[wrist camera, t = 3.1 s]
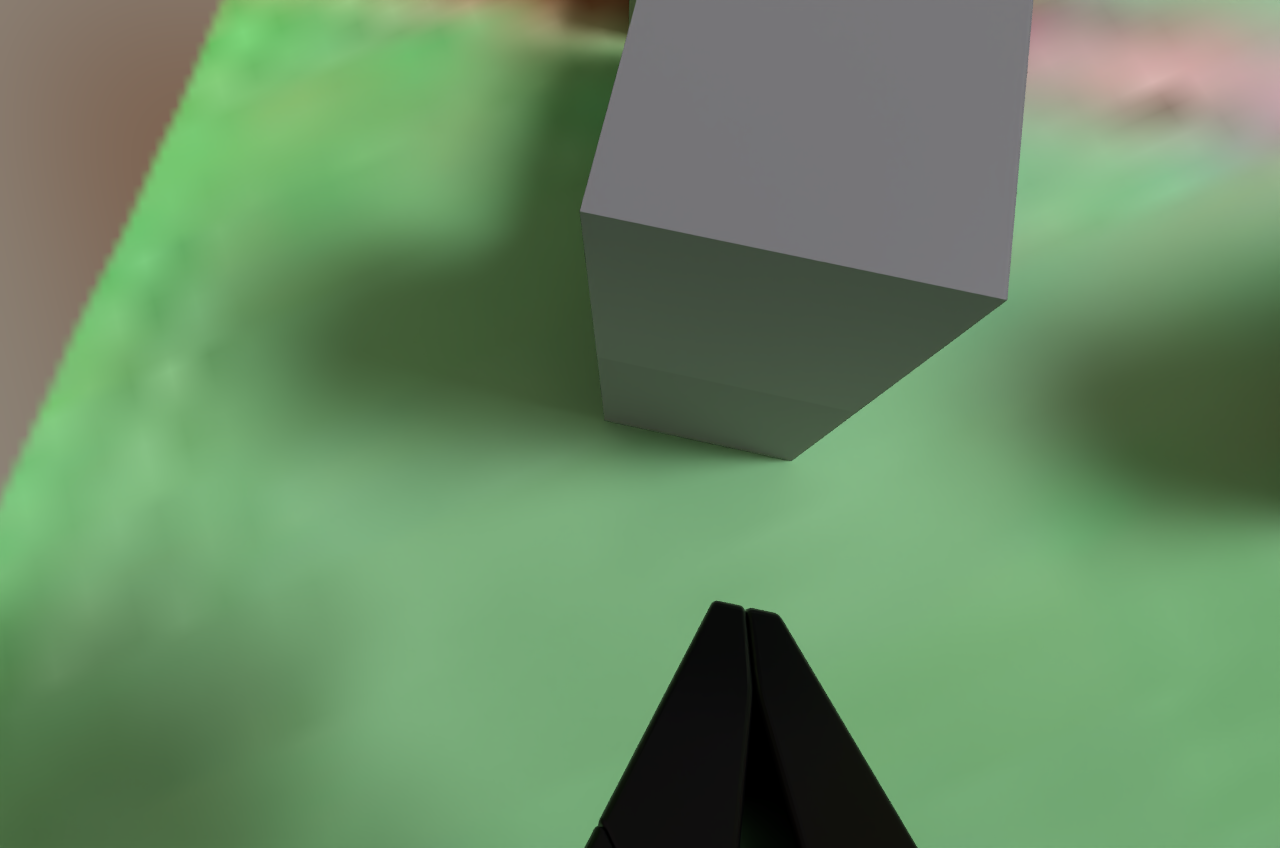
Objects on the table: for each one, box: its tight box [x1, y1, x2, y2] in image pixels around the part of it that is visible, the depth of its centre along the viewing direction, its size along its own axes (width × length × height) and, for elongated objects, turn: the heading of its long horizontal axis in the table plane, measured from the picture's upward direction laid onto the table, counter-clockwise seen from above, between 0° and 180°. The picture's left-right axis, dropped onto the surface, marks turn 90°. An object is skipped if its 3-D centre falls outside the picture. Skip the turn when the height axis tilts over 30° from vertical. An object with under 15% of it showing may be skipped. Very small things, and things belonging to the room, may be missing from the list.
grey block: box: [580, 0, 1033, 461], centre depth 17 cm, size 14×6×12 cm, turn 168°
